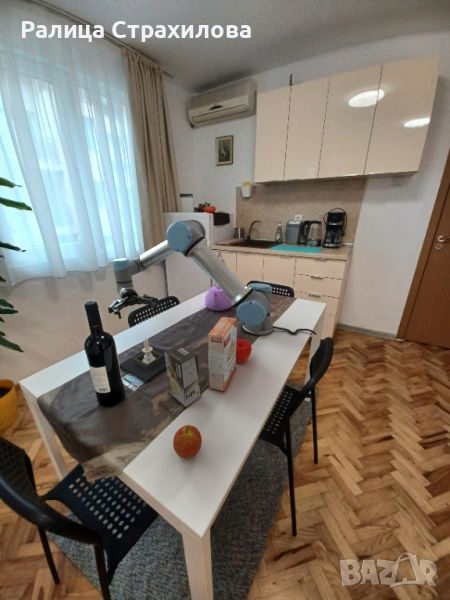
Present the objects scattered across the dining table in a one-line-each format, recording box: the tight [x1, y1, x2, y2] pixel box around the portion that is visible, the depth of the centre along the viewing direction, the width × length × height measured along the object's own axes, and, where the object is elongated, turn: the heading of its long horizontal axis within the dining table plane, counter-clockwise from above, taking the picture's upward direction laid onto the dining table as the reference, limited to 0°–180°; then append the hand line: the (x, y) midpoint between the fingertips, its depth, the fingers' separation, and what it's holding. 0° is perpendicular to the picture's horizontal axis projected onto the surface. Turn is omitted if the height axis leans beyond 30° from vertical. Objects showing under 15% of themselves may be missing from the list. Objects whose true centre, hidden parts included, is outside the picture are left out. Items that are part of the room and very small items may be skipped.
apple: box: [236, 338, 253, 364], centre depth 94 cm, size 9×9×8 cm
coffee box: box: [164, 343, 201, 408], centre depth 75 cm, size 9×6×16 cm
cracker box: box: [207, 316, 238, 392], centre depth 82 cm, size 14×6×21 cm, turn 161°
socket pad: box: [118, 345, 167, 383], centre depth 93 cm, size 16×16×3 cm
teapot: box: [204, 284, 232, 312], centre depth 143 cm, size 25×18×14 cm
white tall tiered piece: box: [141, 337, 156, 364], centre depth 91 cm, size 5×5×10 cm
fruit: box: [172, 424, 203, 459], centre depth 58 cm, size 7×7×8 cm
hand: (138, 312), depth 95 cm, fingers open, 13 cm apart
